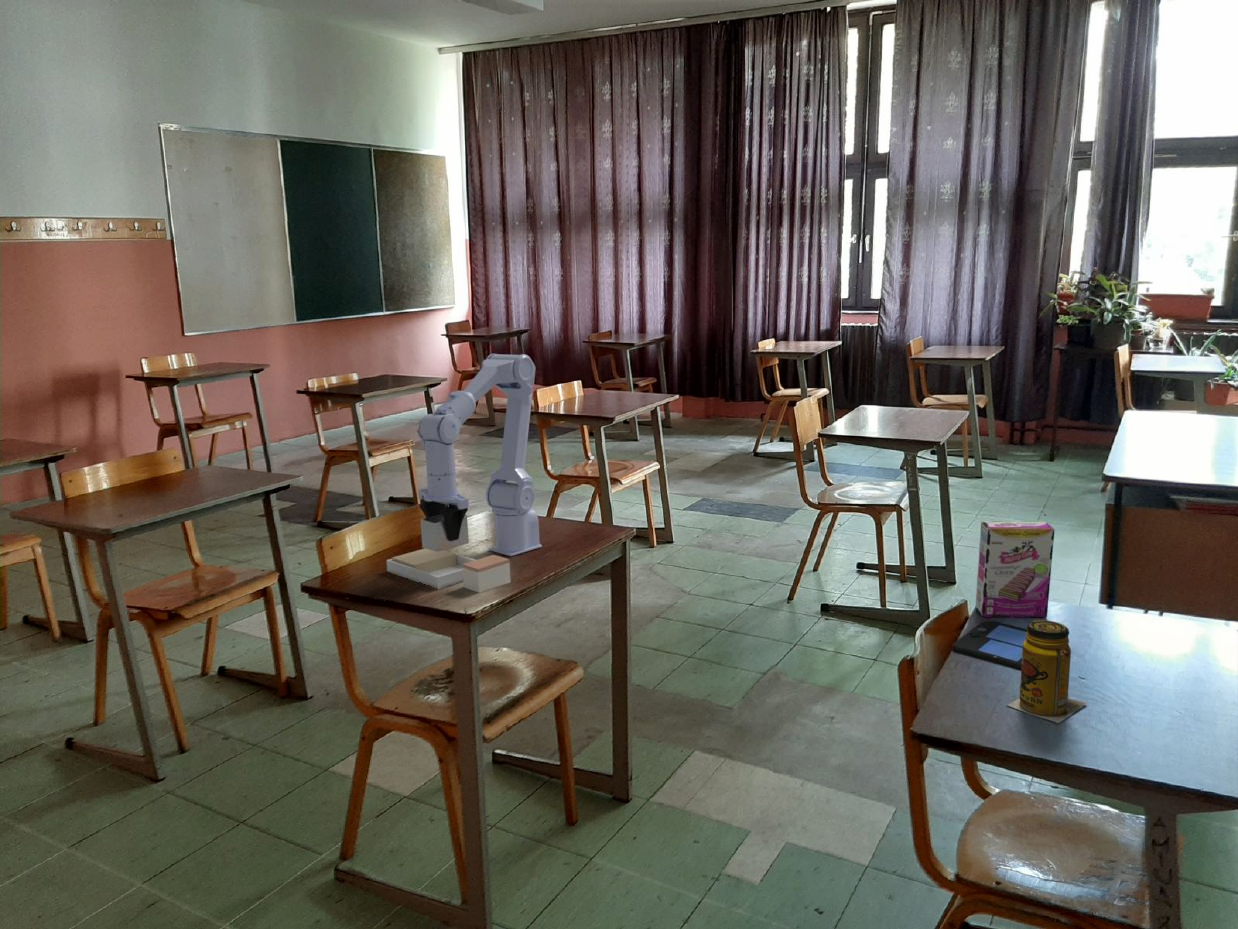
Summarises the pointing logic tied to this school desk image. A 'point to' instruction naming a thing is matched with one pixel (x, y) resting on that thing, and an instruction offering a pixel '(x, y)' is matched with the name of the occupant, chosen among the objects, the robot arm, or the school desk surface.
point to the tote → (429, 567)
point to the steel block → (441, 534)
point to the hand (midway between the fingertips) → (445, 537)
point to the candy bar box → (1014, 568)
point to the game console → (994, 643)
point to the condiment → (1046, 673)
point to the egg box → (486, 573)
